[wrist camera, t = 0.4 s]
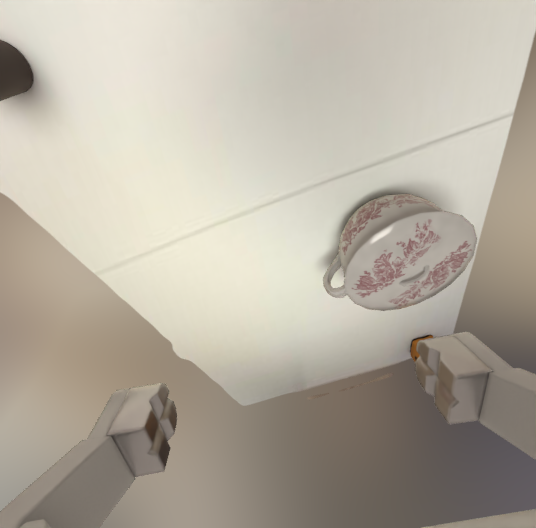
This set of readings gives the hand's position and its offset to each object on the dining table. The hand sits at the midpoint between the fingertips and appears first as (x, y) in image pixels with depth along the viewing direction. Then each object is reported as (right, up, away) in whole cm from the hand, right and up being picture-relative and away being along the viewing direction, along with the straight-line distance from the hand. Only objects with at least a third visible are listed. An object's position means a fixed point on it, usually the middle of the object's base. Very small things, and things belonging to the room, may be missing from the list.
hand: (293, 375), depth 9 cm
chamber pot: (+26, +14, +62) cm, 68 cm away
